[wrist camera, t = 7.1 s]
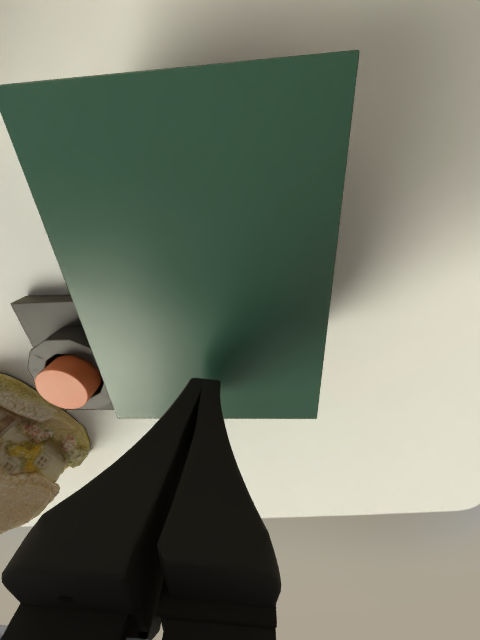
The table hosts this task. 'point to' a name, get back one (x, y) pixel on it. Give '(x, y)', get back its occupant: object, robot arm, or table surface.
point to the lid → (195, 222)
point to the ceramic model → (33, 451)
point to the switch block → (57, 338)
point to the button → (68, 382)
